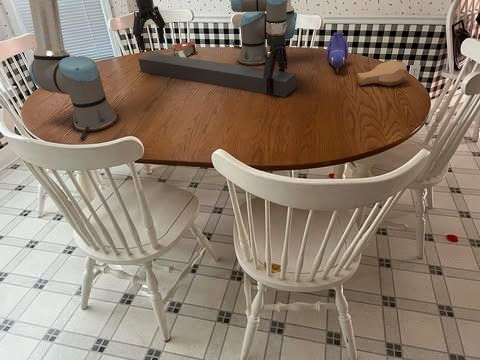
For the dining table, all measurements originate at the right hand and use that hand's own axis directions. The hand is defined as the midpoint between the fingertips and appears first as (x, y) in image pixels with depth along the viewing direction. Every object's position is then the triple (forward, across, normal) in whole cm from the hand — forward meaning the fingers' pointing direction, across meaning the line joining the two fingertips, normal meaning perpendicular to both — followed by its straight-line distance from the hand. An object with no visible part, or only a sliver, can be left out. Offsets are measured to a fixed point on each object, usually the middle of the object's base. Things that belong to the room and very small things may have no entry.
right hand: (275, 88), depth 149 cm
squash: (+1, +23, -37) cm, 44 cm away
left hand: (-11, 0, +66) cm, 67 cm away
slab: (+1, 0, +33) cm, 33 cm away
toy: (+1, +35, -14) cm, 38 cm away
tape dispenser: (+1, +22, +67) cm, 70 cm away
